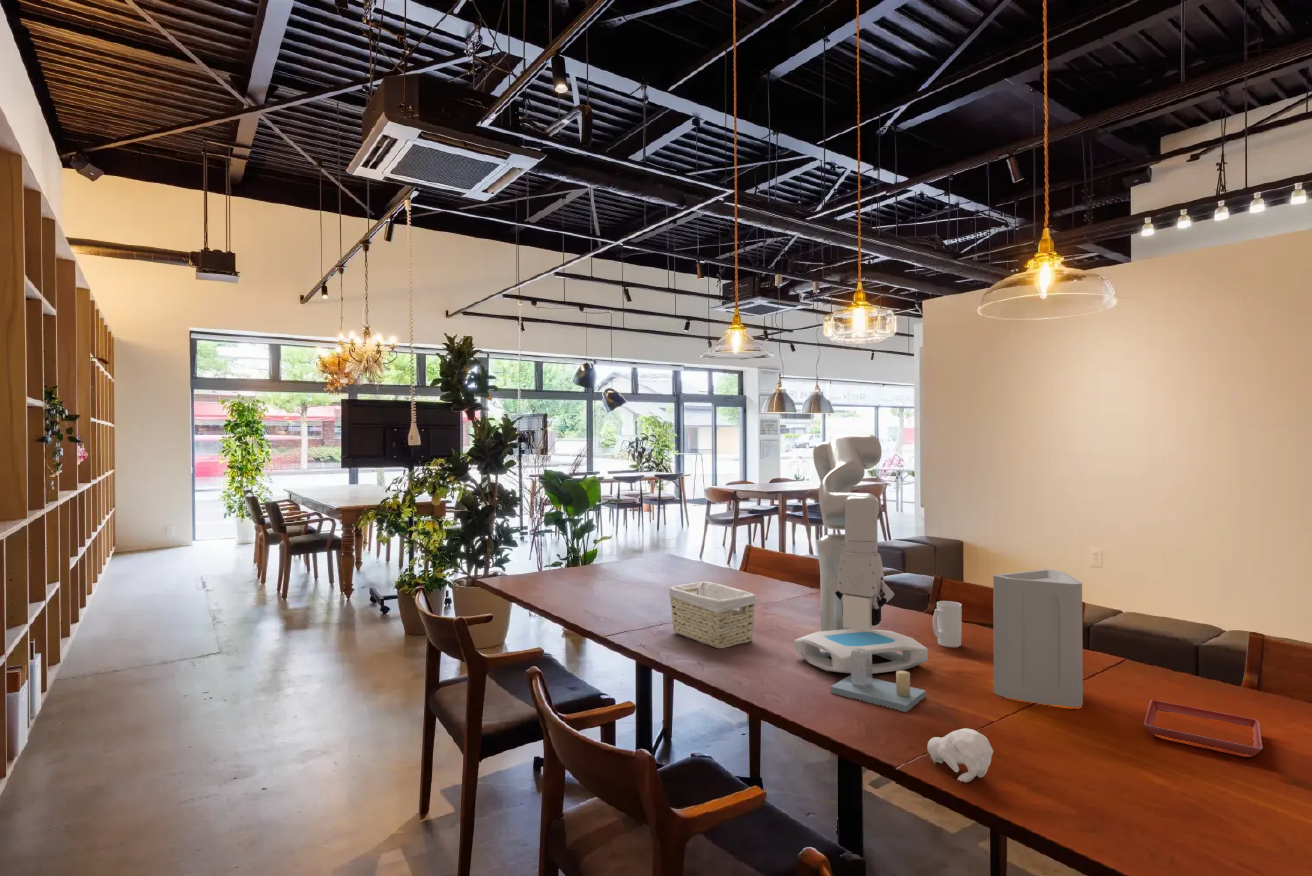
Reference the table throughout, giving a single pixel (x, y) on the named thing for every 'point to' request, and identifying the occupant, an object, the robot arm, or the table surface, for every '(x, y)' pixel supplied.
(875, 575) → the robot arm
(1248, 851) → the table surface
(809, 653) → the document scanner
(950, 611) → the mug
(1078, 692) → the grey triangular planter
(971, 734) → the white animal figure
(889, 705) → the slate board
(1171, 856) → the table surface
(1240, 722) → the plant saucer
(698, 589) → the storage basket
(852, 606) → the matte white cube
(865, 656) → the steel post
